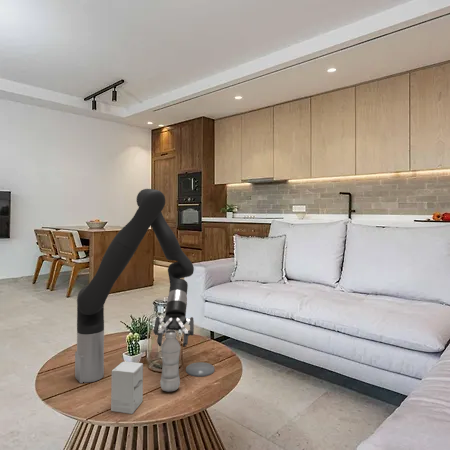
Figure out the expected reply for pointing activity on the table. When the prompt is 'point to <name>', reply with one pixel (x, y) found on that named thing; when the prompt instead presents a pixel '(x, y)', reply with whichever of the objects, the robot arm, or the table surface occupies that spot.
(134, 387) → the supplement box
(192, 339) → the table surface
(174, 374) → the plastic bottle
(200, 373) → the coaster
